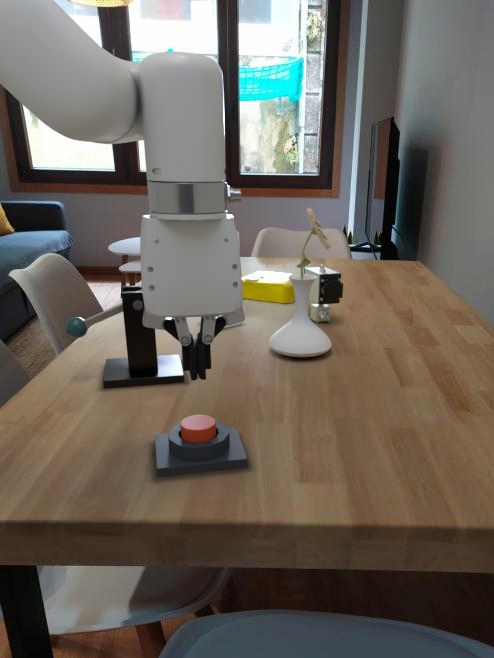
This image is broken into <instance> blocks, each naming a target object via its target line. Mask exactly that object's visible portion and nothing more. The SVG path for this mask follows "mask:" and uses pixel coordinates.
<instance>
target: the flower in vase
mask: <svg viewBox="0 0 494 658" xmlns="http://www.w3.org/2000/svg"><path fill="white" fill-rule="evenodd" d="M306 214H307V218H308V221H309V223H310V224H311V230H310V232H309V234H308V236H307V238H306V240H305V242H304V244H303V247H302V250H301V251H300V252H301V253H300V254H301V255H300V263H298V264H297V265H295V267H296V268H299V269H300V273H290V274H291V275H289V276H288V278H289V280H290V281H291V283H292V285H293V288H294V293H295V301H294V314H293V316H292V319H291V320H290V321H288V322H287V323H286V324H285V325H283V326H282V327H281V328H279V329H278V330H277V331H276V332H274V333H273V334H272V335H271V336H270V339H269V340H268V345H269V347H270V349H271V350H273V351H274V352H276V353H277V354H280V355H284V356H288V357H294V358H309V357H317V356H320V355H322V354H325V353H327V352H329V351H330V349H331V348H332V345H333V343H332V341H331V338H330V337H329V336H328V335H327V333H325V332H324V331H323V330H322V329H321V328H320V327H318V326H317V325H316V324H315V322H312V321H313V320H312V319H311V318H310V315H309V310H308V309H309V308H308V307H309V306H308V305H309V292H310V289H311V286H312V284H313V282H314V281H315V280H316V278H317V277H316V276H315V275H310V274H304V267H308V265H310V264H311V263H312V261H310V260H309V258H307V257H306V254H305V250H306V247H307V245H308V243H309V241H310V239H311V237H312V235H314V236H317V238H318V240H319V242H320V244H321V245H322V246H323V247H324V249H325V250H326V251H328V250H330V249H331V245H330V243H329V242H328V240H329V239H328V236H327V235H326V234H325V233H324V232H323V229H322V223H321V222H320V220H318V219H316V215H315V212H314V210H313V209H311V207H309V206H308V207H307V208H306Z"/></svg>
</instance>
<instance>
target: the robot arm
mask: <svg viewBox="0 0 494 658" xmlns="http://www.w3.org/2000/svg"><path fill="white" fill-rule="evenodd" d="M0 85H1V87H3V88H5V90H6V91H8V92H9V93H10V94H11V95H12V97H14V98H15V99H16V100H17V102H19V103H20V104H21V105H22V106H23V107H25V109H27V110H28V111H29V112H30V113H32V115H34V116H35V117H36V118H37V119H38V120H39V121H40V122H41V123H43V124H44V125H45V126H47V127H48V128H50V129H51V130H52V131H54V132H56V133H57V134H60V136H61V135H62V136H63V137H65V138H67V139H71V140H73V141H77V142H78V141H79V142H86V143H87V142H88V143H95V144H102V145H104V144H105V145H118V144H126V143H132V142H141V141H143V145H144V146H143V147H144V158H145V170H146V172H145V173H146V186H147V196H148V210H149V214H144V215H142V216H141V223H140V236H139V237H140V238H139V249H140V250H139V253H140V254H139V256H140V257H139V258H140V279H141V280H140V281H141V285H142V293H143V300H144V305H145V307H144V313H143V318H142V321H143V325H144V326H145V327H148V328H153V329H155V330H161V331H165V332H167V333H168V334H169V335H171V337H173V338H174V339H175V340H177V342H179V344H180V345H181V358H182V359H181V362H182V369H183V372H188V373H189V376H190V377H189V378H190V380H191V382H192V381H197V380H201V381H204V380H207V370H212V351H211V349H212V348H211V344H212V343H213V342H214V339H215V338H216V337H217V336H218V335H219V334H220V333H221V331H223V330H224V329H225V328H224V327H225V326H228V325H229V326H230V325H233V324H237V323H240V324H241V323H243V322H244V321H245V320H246V315H245V312H244V307H243V303H244V298H243V284H242V278H243V273H242V261H241V253H240V251H241V250H240V251H239V244H238V237H237V231H238V230H237V227H236V222H235V218H234V215H233V214H228V212H229V207H231V205H234V204H236V203H237V204H241V203H242V189H241V188H234V187H230V185H228V182H226V181H227V169H226V167H227V166H226V131H225V129H226V127H225V126H226V125H225V93H224V92H225V91H224V76H223V71H222V69H221V66H220V65H219V63H218V62H217V61H216V60H215V59H213V58H212V57H210V56H207V55H205V54H201V53H195V52H186V51H163V52H155V53H152V54H149V55H146V56H145V57H144V58H143V59H142V61H141V62H140V61H133V60H125V59H122V58H120V57H117V56H116V55H115V56H114V55H113V54H112V53H111V52H109V51H107V50H106V49H105V48H103V47H102V46H100V45H99V44H98V42H96V41H95V40H94V39H93V38H92V37H91V36H90V35H89V34H88V32H87V33H86V31H85V30H84V29H83V28H82V27H81V26H80V25H79V24H78V23H77V22H76V21H75V20H74V19H73V18H72V17H71V16H70V15H69V14H68V13H67V12H66V11H65V10H64V9H63V8H62V7H61V5H59V4H58V3H57V1H56V0H0ZM236 230H237V231H236ZM187 318H200V323H199V331H198V333H197V334H196V338H195V339H194V337H193V334H192V333H191V332H190V328H189V325H188V320H187Z"/></svg>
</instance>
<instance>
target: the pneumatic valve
mask: <svg viewBox="0 0 494 658" xmlns="http://www.w3.org/2000/svg"><path fill="white" fill-rule="evenodd" d="M303 274H310V275H315V276H316V277H317V278H316V280H315V281H314V282H313V284H312V286H311V289H310V292H309V298H308V300H311V302H312V303H311V304H310V305H309V306H310V315H309V319H310V320H311V321H313V322H314V323H317V324H318V323H319V322H330V321H331V318H330V317H331V313H330V311H331V309H332V308H331V306H330V305H333V304H334V305H336V304H340V303H341V301H340V300H341V299H343V294H344V283H343V282H342V273H340V272H339V271H338V270H335V269H331V268H328V267H326V266H325V264H320V265H319V266H317V265H316V266H305V267H303ZM313 302H314V303H313Z"/></svg>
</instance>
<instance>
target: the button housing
mask: <svg viewBox="0 0 494 658" xmlns="http://www.w3.org/2000/svg"><path fill="white" fill-rule="evenodd" d="M215 421H216V437H215V438H214V439H211V440H209V441H206V442H196V443H195V442H189V441H185V440H183V439H182V438H181V422H179V423H177V424H175V425H173V427H171V428H170V429H169V431H167V433H162V434H160V433H159V434H154V449H155V450H154V451H155V462H156V463H155V464H156V478H158V479H159V478H168V477H175V476H184V475H195V474H203V473H213V472H219V471H220V472H221V471H229V470H237V469H245V468H246V469H247V468H249V463H248V462H249V459H248V456H247V453H246V449H245V448H244V445H243V441H242V439H241V437H240V434H239V431H238V429H237V426H234V427H232V426H231V427H228V426H227V425H225V424H223V423H222V422H220V421H218V420H215Z"/></svg>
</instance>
